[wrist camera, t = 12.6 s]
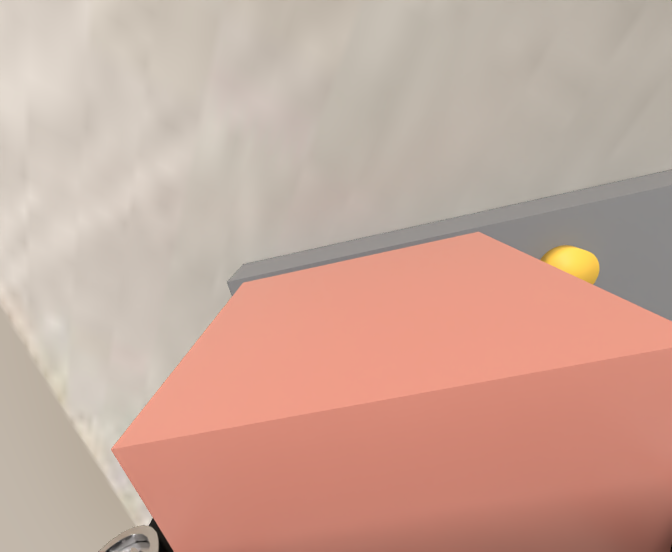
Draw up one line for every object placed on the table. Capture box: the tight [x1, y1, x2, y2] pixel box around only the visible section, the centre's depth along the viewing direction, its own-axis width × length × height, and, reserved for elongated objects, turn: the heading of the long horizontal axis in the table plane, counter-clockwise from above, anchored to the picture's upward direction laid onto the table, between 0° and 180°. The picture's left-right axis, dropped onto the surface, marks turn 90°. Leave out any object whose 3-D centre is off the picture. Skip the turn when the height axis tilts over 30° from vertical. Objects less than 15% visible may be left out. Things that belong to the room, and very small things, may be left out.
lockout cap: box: [111, 232, 672, 552], centre depth 8 cm, size 7×7×6 cm
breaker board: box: [227, 170, 672, 321], centre depth 13 cm, size 17×16×3 cm
